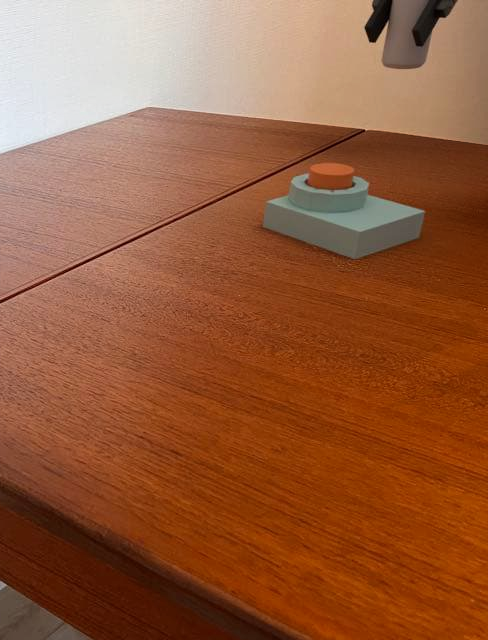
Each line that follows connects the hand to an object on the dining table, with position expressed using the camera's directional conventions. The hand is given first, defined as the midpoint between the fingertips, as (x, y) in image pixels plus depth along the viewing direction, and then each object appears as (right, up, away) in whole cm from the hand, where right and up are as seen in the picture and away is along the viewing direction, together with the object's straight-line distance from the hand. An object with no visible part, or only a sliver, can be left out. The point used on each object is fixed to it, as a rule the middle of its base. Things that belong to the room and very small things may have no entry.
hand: (393, 36), depth 99 cm
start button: (-14, -21, -15) cm, 30 cm away
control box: (-13, -26, -15) cm, 32 cm away
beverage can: (+3, -2, +4) cm, 6 cm away
